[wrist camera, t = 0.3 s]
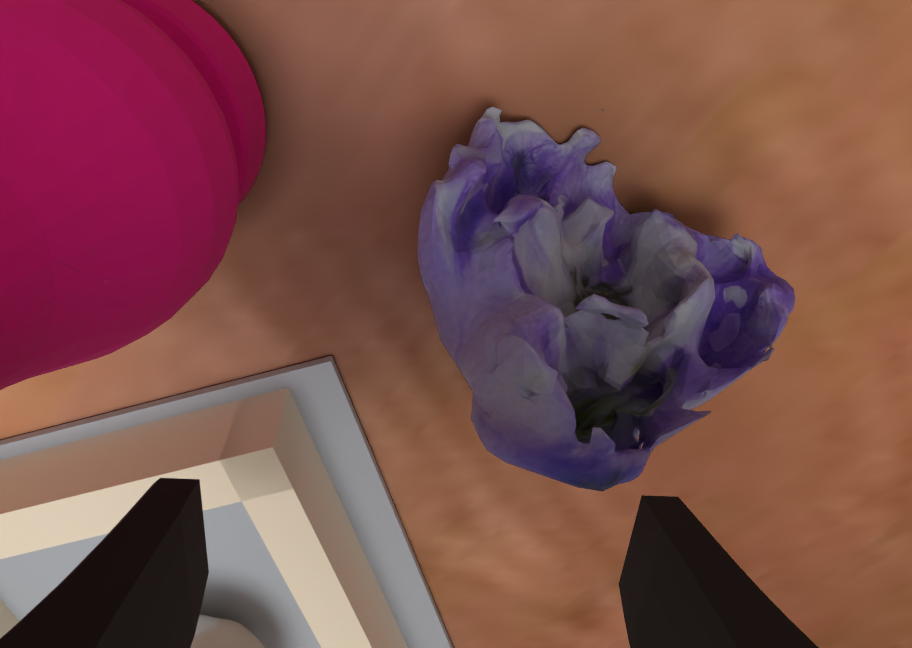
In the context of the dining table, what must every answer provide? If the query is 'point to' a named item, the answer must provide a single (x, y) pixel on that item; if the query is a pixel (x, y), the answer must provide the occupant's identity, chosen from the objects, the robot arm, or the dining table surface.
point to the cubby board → (231, 509)
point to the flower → (583, 305)
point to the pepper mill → (114, 171)
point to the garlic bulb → (223, 634)
